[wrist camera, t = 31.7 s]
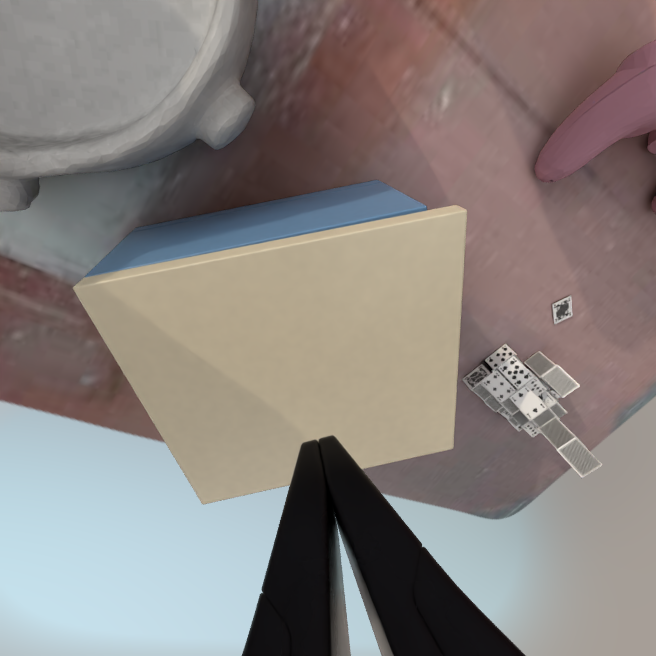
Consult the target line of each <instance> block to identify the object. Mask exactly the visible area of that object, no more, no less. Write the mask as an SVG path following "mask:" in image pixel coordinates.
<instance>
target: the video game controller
mask: <svg viewBox="0 0 656 656" xmlns="http://www.w3.org/2000/svg"><path fill="white" fill-rule="evenodd" d="M649 132H650V133H649ZM646 133H649V139H648V146H647V148H648V151H650V152H651V153H653V154H656V40H654V41H652V42H650V43H648V44H646V45H644V46H643V47H641V48H639V49H638V50H636V51H635V52H633V53H632V54H631V55H629V56H628V57H627V58H626V59H625V60H624V61H623V62H622V63H621V64H620V66H619V67H618V69H617V71H616V73H615V75H613V76H612V77H611V78H610V79H609V80H607V81H606V82H605V83H604V84H603V85H602V86H600V87H599V88H598V89H597V90H596V91H595V92H593V93H592V94H591V95H590V96H589V97H588V98H587V99H586V100H585V101H583V102H582V103H581V104H580V105H579V106H578V107H577V108H576V109H575V110H574V111H573V112H572V113H571V114H570V115H569V116H568V117H567V118H566V119H565V120H564V121H563V122H562V124H561V125H560V126H559V127H558V128H557V129H556V130H555V132H554V133H553V134H552V136H551V137H550V138H549V140H548V141H547V143H546V144H545V146H544V147H543V149H542V150H541V152H540V154H539V156H538V159H537V161H536V164H535V167H534V168H535V173H536V176H537V178H538V179H539V180H541V181H542V182H550V183H551V182H556V181H558V180H560V179H562V178H565V177H567V176H569V175H571V174H573V173H574V172H575V171H577V170H578V169H580V168H581V167H583V166H584V165H585V164H586V163H588V162H589V161H590V160H592V159H593V158H594V157H596V156H597V155H598V154H599V153H601V152H602V151H603V150H605V149H606V148H608V147H609V146H611V145H612V144H614V143H615V142H617V141H618V140H620V139H622V138H631V137H636V136H639V135H643V134H646ZM651 206H652V210H653V212H654V213H655V214H656V195H655V197H654V199H653V201H652V203H651Z"/></svg>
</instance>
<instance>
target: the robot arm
mask: <svg viewBox="0 0 656 656" xmlns="http://www.w3.org/2000/svg"><path fill="white" fill-rule="evenodd" d="M335 517H336V518H335ZM336 521H337V523H336ZM337 525H338V528H339V532H340V535H341V538H342V541H343V544H344V547H345V549H346V553H347V555H348V558H349V561H350V564H351V567H352V570H353V573H354V576H355V579H356V582H357V585H358V588H359V591H360V594H361V596H362V599H363V602H364V605H365V608H366V611H367V614H368V617H369V620H370V623H371V626H372V629H373V632H374V634H375V637H376V640H377V643H378V646H379V649H380V652H381V655H382V656H525V655H524V654H523V653H522V652H521V651H520V650H519V649H518V648H517V647H516V646H515V645H514V644H513V643H512V642H511V641H510V640H509V639H508V638H507V637H506V636H505V635H504V634H503V633H502V632H501V631H500V630H499V629H498V628H497V627H496V626H495V625H494V624H493V623H492V622H491V621H490V619H488V618H487V617H486V616H485V615H484V613H482V611H481V610H480V609H478V607H477V606H476V605H475V604H474V603H473V602H472V601H471V600H470V599H469V598H468V597H467V596H466V595H465V594H464V593H463V591H462V590H461V589H460V588H459V587H458V586H457V585H456V584H455V583H454V582H453V581H452V579H451V578H450V577H449V576H448V575H447V573H446V572H445V571H444V570H443V569H442V568H441V566H440V565H439V564H438V563H437V562H436V560H435V559H434V558H433V557H432V556H431V554H430V553H429V552H428V551H427V549H426V548H425V547H422V543H421V542H420V541H419V540H418V538H417V537H416V536H415V535H414V534H413V532H412V531H411V530H410V529H409V527H408V526H407V525H406V524H405V522H404V521H403V520H402V519H401V517H400V516H399V515H398V514H397V513H396V511H395V510H394V509H393V507H392V506H391V505H390V504H389V503H388V501H387V500H386V499H385V498H384V496H383V495H382V494H381V493H380V491H379V490H378V489H377V488H376V486H375V485H374V484H373V483H372V481H371V480H370V479H369V478H368V477H367V475H366V474H365V473H364V472H363V470H362V469H361V468H360V467H359V465H358V464H357V463H356V462H355V460H354V459H353V458H352V457H351V455H350V454H349V453H348V452H347V450H346V449H345V448H344V447H343V446H342V444H341V443H340V442H339V441H338V439H337V438H336V437H335V436H334V435H330V436H326V437H322V438H320V439H319V441H318V440H316V439H314V440H310V441H307V442H303V443H302V444H301V447H300V450H299V454H298V458H297V461H296V465H295V469H294V472H293V476H292V480H291V483H290V487H289V491H288V494H287V498H286V502H285V505H284V509H283V513H282V517H281V520H280V524H279V527H278V531H277V535H276V538H275V542H274V546H273V550H272V553H271V557H270V560H269V564H268V568H267V571H266V575H265V579H264V582H263V586H262V592H263V593H261V594H260V596H259V600H258V604H257V608H256V611H255V615H254V618H253V621H252V625H251V628H250V631H249V635H248V638H247V641H246V645H245V648H244V651H243V654H242V656H351V654H350V644H349V634H348V624H347V614H346V604H345V595H344V585H343V575H342V565H341V556H340V545H339V536H338V529H337Z"/></svg>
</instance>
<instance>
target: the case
mask: <svg viewBox="0 0 656 656" xmlns="http://www.w3.org/2000/svg"><path fill="white" fill-rule="evenodd" d="M422 211H427V206H426V205H424V204H422V203H420V202H418V201H416V200H414V199H413V198H411V197H409V196H407V195H405V194H403V193H401V192H400V191H398V190H396V189H394V188H392V187H390V186H388V185H387V184H385V183H382V182H381V181H379V180H374V181H369V182H364V183H359V184H354V185H349V186H344V187H339V188H333V189H328V190H323V191H318V192H313V193H308V194H303V195H298V196H293V197H288V198H283V199H278V200H273V201H268V202H263V203H258V204H253V205H248V206H243V207H238V208H233V209H228V210H223V211H218V212H213V213H208V214H203V215H198V216H193V217H188V218H183V219H178V220H173V221H168V222H163V223H158V224H153V225H147V226H142V227H137V228H135V229H134V230H133V231H132V232H131V233H129V234H128V235H127V236H126V237H125V238H124V239H123V240H122V241H121V242H120V243H119V244H118V245H117V246H116V247H115V248H114V249H113V250H112V251H111V252H110V253H109V254H108V255H107V256H106V257H105V258H103V259H102V260H101V261H100V262H99V263H98V264H97V265H96V266H95V267H94V268H93V269H92V270H91V271H90V272H89V273H88V274H87V275H86V276H85V277H90V276H95V275H100V274H105V273H110V272H116V271H121V270H126V269H131V268H136V267H141V266H146V265H151V264H156V263H162V262H167V261H172V260H177V259H182V258H187V257H192V256H197V255H202V254H208V253H213V252H218V251H223V250H228V249H233V248H238V247H243V246H248V245H254V244H259V243H264V242H269V241H274V240H279V239H284V238H289V237H294V236H300V235H305V234H310V233H315V232H320V231H325V230H330V229H335V228H341V227H346V226H351V225H356V224H361V223H366V222H371V221H376V220H381V219H387V218H392V217H397V216H402V215H407V214H412V213H417V212H422Z"/></svg>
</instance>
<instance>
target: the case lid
mask: <svg viewBox="0 0 656 656" xmlns="http://www.w3.org/2000/svg"><path fill="white" fill-rule="evenodd" d="M466 224H467V210H466V209H464V208H462V207H460V206H458V205H453V206H448V207H443V208H438V209H433V210H427V211H422V212H417V213H412V214H407V215H402V216H397V217H392V218H387V219H381V220H376V221H371V222H366V223H361V224H356V225H351V226H346V227H341V228H335V229H330V230H325V231H320V232H315V233H310V234H305V235H300V236H294V237H289V238H284V239H279V240H274V241H269V242H264V243H259V244H254V245H248V246H243V247H238V248H233V249H228V250H223V251H218V252H213V253H208V254H202V255H197V256H192V257H187V258H182V259H177V260H172V261H167V262H162V263H156V264H151V265H146V266H141V267H136V268H131V269H126V270H121V271H116V272H110V273H105V274H100V275H95V276H90V277H85V278H83V279H82V280H81V281H80V282H78V283H77V284H76V285H75V286H74V287H73V290H74V292H75V293H76V295H77V297H78V298H79V300H80V301H81V303H82V305H83V306H84V308H85V310H86V311H87V313H88V315H89V316H90V318H91V320H92V321H93V323H94V325H95V326H96V328H97V330H98V331H99V333H100V335H101V336H102V338H103V340H104V341H105V343H106V345H107V346H108V348H109V350H110V351H111V353H112V355H113V356H114V358H115V360H116V361H117V363H118V365H119V366H120V368H121V370H122V371H123V373H124V375H125V376H126V378H127V380H128V381H129V383H130V385H131V386H132V388H133V390H134V391H135V393H136V395H137V396H138V398H139V400H140V401H141V403H142V405H143V406H144V408H145V410H146V411H147V413H148V415H149V416H150V418H151V420H152V421H153V423H154V425H155V426H156V428H157V430H158V431H159V433H160V435H161V436H162V438H163V440H164V441H165V443H166V445H167V446H168V448H169V450H170V451H171V453H172V455H173V456H174V458H175V459H176V461H177V463H178V464H179V466H180V468H181V469H182V471H183V473H184V475H185V476H186V478H187V479H188V481H189V483H190V484H191V486H192V488H193V489H194V491H195V492H196V494H197V496H198V498H199V499H200V501H201V503H202V504H207V503H212V502H216V501H221V500H225V499H230V498H234V497H239V496H244V495H248V494H253V493H257V492H261V491H266V490H270V489H275V488H279V487H284V486H288V485H290V483H291V480H292V476H293V472H294V469H295V465H296V461H297V458H298V454H299V450H300V447H301V444H302V443H303V442H307V441H310V440H314V439H316V440H318V441H319V439H320V438H322V437H326V436H330V435H334V436H335V437H336V438H337V439H338V441H339V442H340V443H341V444H342V446H343V447H344V448H345V449H346V450H347V452H348V453H349V454H350V455H351V457H352V458H353V459H354V460H355V462H356V463H357V464H358V465H359V467H360V468H361V469H365V468H369V467H374V466H378V465H383V464H387V463H391V462H396V461H400V460H405V459H409V458H414V457H418V456H423V455H427V454H432V453H436V452H441V451H445V450H450V449H453V445H454V428H455V411H456V394H457V377H458V360H459V343H460V326H461V309H462V292H463V275H464V258H465V241H466Z"/></svg>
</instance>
